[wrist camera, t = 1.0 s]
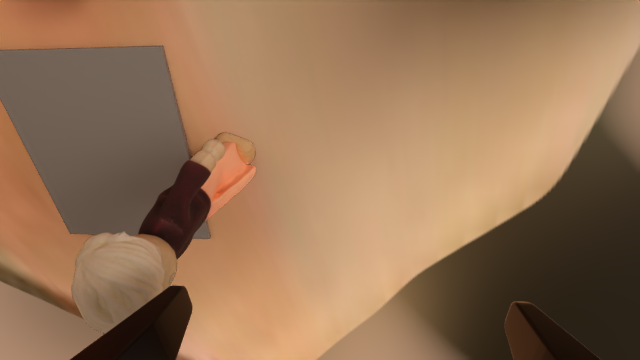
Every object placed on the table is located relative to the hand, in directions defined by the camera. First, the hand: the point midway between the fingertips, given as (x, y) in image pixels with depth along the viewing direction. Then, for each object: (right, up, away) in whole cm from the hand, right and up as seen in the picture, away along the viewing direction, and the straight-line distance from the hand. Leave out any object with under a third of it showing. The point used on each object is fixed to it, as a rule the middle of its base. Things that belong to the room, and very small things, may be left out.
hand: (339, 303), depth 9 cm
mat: (-15, +5, +13) cm, 21 cm away
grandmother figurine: (-7, +5, +13) cm, 15 cm away
